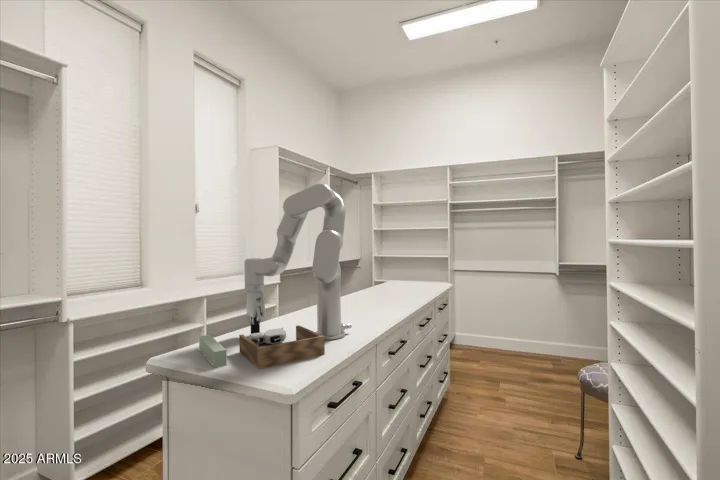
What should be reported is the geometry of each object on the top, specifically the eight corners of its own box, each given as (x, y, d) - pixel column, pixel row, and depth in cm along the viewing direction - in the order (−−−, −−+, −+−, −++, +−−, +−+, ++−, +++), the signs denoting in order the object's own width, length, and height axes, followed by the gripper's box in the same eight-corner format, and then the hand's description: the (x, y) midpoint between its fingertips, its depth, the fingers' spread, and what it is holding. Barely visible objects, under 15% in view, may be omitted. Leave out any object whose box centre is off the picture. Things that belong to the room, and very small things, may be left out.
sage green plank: (199, 350, 125) (199, 336, 125) (209, 348, 127) (209, 334, 127) (214, 368, 107) (214, 351, 107) (226, 365, 109) (226, 349, 109)
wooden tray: (299, 340, 134) (298, 325, 134) (324, 354, 117) (324, 336, 117) (239, 352, 121) (239, 334, 121) (258, 368, 105) (258, 348, 105)
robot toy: (245, 353, 124) (288, 345, 128) (243, 340, 123) (286, 333, 128) (246, 343, 135) (285, 337, 139) (245, 332, 135) (284, 325, 139)
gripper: (269, 289, 138) (270, 336, 138) (257, 286, 151) (258, 328, 150) (250, 291, 134) (251, 339, 134) (239, 287, 146) (240, 331, 146)
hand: (255, 333), depth 142 cm, fingers closed
